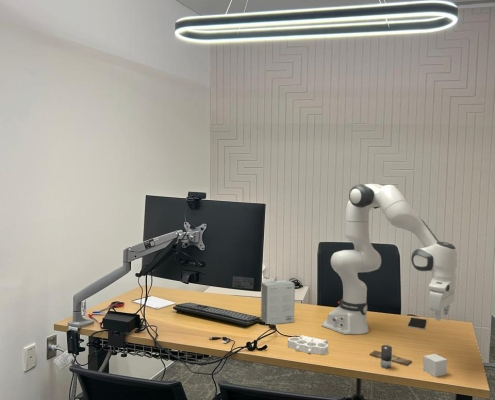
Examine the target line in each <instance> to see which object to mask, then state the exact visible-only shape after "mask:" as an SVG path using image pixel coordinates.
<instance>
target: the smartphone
mask: <svg viewBox="0 0 495 400" xmlns="http://www.w3.org/2000/svg"><path fill="white" fill-rule="evenodd" d="M426 325H427V319H425V318H424V319H423V318H419V317H410V319H409V322H408V324H407V328H409V327H410V328H409V329H416V328H417V330H424V331H425V329H426Z"/></svg>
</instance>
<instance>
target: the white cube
mask: <svg viewBox="0 0 495 400" xmlns="http://www.w3.org/2000/svg"><path fill="white" fill-rule="evenodd" d="M422 362H423V363H422V372H424V373H426V372H427V373H426V374H428V373H429V374H428V375H430V376H432V377H434V378H437V377H442V376H445V375H447V374H448V373H447V371H448V370H447V368H448V367H447V366H448V359H447V358H445V357H443V356H441V355H438V354H437V353H432V354H428V355H423V361H422Z"/></svg>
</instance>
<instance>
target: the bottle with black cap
mask: <svg viewBox="0 0 495 400" xmlns="http://www.w3.org/2000/svg"><path fill="white" fill-rule="evenodd" d="M380 352H381V358H380V367H381V368H382V369H384V368H385V369H386V370H390V369H392V361H391V360H392V355H393V347H392V346H391V345H389V344H383V345H381V350H380Z"/></svg>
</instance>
